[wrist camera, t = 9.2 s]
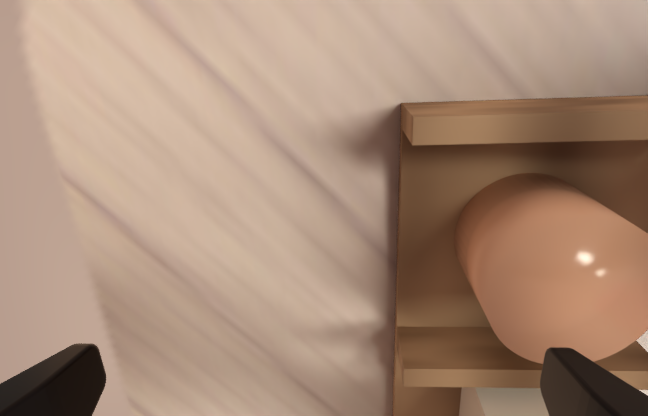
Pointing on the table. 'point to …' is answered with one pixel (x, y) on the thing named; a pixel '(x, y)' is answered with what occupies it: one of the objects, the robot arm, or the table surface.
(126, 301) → the table surface
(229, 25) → the table surface
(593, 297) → the peach rounded capsule
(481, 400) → the cream rectangular block
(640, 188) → the rack
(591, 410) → the robot arm
